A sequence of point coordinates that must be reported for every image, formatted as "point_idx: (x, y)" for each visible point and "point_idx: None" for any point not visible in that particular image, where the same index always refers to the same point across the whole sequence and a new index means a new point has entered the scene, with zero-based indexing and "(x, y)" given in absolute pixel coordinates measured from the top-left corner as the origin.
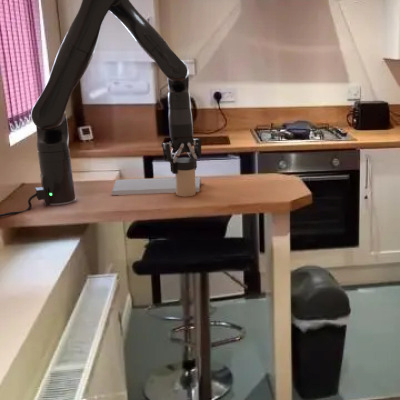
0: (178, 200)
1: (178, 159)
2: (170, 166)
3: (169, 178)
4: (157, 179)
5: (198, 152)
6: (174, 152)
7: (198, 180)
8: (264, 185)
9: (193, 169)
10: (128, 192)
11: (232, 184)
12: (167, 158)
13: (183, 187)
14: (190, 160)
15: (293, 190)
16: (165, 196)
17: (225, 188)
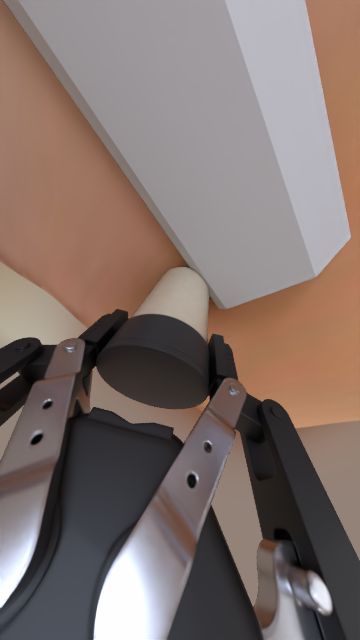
0: (137, 308)
1: (132, 359)
2: (89, 327)
3: (253, 123)
4: (206, 31)
5: (244, 450)
6: (64, 405)
7: (275, 286)
8: (325, 388)
9: None
10: (30, 30)
11: (337, 333)
12: (16, 379)
13: None
14: (167, 399)
15: None
16: (139, 250)
17: (280, 338)
